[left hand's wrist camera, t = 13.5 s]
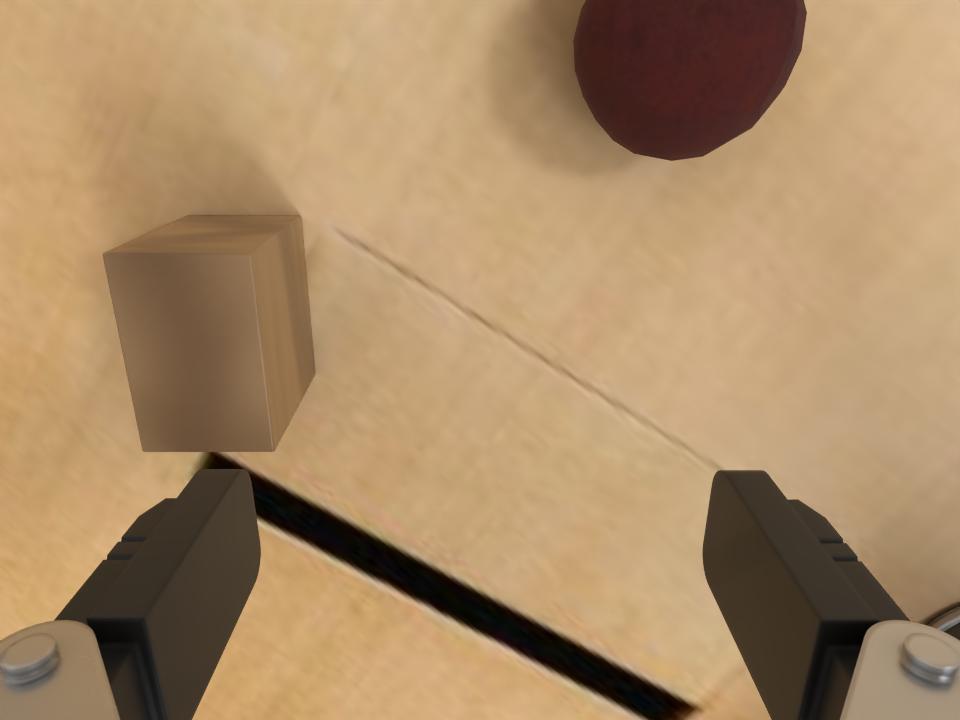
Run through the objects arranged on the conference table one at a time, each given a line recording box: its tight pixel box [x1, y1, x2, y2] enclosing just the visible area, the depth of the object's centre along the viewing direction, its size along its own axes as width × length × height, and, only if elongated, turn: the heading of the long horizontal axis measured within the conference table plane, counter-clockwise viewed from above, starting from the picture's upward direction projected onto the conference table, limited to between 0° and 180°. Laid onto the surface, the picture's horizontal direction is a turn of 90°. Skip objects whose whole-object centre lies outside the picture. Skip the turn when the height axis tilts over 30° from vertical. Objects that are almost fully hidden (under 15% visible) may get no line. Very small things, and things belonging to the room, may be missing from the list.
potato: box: [574, 0, 807, 161], centre depth 23 cm, size 7×8×7 cm
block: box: [103, 215, 315, 452], centre depth 27 cm, size 5×8×7 cm, turn 179°
